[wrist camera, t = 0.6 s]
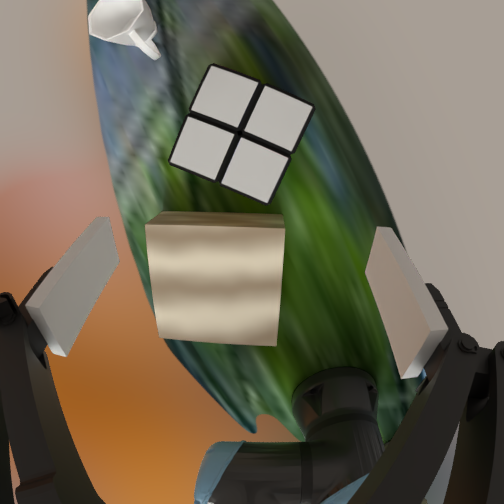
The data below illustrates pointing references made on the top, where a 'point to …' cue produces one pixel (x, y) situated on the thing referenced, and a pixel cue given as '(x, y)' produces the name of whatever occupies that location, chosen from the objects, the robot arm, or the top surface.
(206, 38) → the top surface
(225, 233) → the stand
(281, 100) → the puzzle cube
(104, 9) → the cup
